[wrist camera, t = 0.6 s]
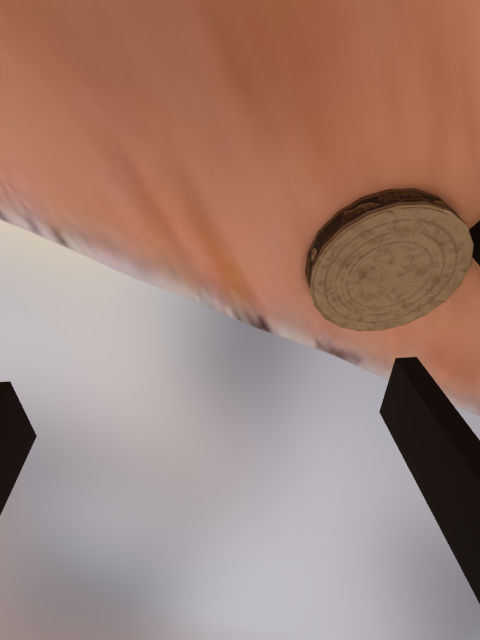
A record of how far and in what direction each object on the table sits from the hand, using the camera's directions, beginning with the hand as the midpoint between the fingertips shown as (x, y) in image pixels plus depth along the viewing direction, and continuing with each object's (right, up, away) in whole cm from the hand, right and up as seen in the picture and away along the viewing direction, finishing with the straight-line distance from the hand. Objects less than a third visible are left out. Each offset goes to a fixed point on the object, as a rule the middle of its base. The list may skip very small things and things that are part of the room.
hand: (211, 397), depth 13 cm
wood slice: (+16, +9, +26) cm, 32 cm away
